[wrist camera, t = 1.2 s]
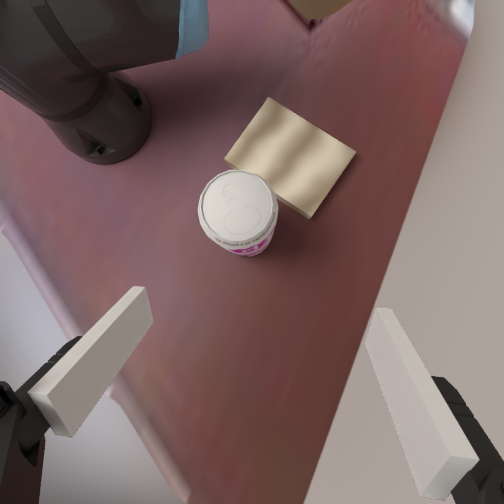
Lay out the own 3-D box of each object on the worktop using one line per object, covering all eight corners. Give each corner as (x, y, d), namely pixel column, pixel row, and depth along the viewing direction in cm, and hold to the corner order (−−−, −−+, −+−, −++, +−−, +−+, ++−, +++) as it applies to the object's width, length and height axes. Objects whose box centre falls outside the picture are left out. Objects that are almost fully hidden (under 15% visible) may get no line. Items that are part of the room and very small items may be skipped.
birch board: (226, 164, 39) (223, 158, 37) (268, 105, 39) (268, 96, 37) (308, 219, 37) (311, 216, 35) (351, 158, 38) (356, 151, 36)
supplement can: (280, 245, 37) (292, 227, 22) (231, 264, 37) (211, 260, 22) (261, 198, 38) (260, 150, 23) (213, 217, 38) (181, 182, 23)
